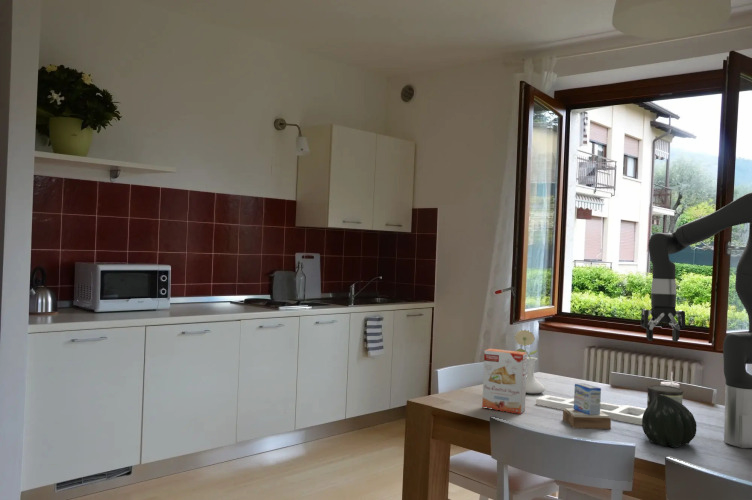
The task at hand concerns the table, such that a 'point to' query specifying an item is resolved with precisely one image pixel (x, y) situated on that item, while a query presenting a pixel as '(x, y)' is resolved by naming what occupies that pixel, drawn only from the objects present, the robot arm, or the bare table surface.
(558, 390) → the table surface
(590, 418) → the plinth
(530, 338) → the flower in vase
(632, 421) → the holder
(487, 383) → the cracker box
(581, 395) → the medicine box
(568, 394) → the table surface
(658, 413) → the squash
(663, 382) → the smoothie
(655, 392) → the coffee can
